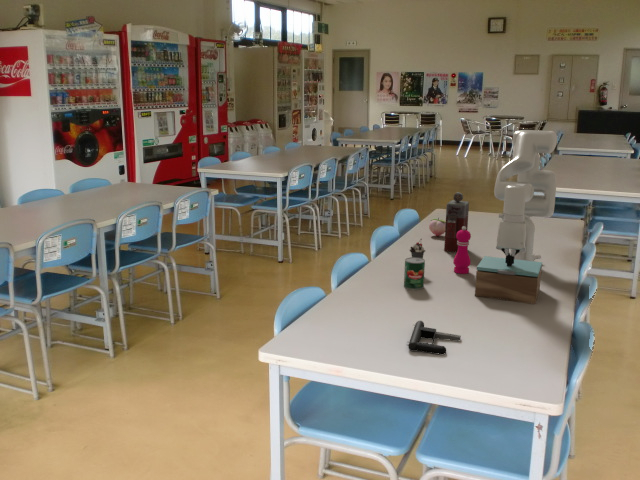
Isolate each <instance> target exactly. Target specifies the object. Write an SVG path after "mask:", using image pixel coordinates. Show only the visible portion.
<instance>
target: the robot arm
mask: <svg viewBox="0 0 640 480" xmlns="http://www.w3.org/2000/svg"><path fill="white" fill-rule="evenodd" d="M512 142H513V146H514V150H513V154H512V160H511V161H509V162H507V163H506V164H505V165H503V166H502V167H501V169H500V170H499V171H498V173H497V176H496V180H495V184H494V187H493V188H494V189H493V193H494V197H495V198H496V199H497V200H498V201H503V208H502V209H503V210H502V211H503V212H502V213H499V214H498V218H500V219H501V220H500V221H499V225H498V230H497V238H496V246H495V249H496V250H498V251H502V253H503V254H504V255H505V258H506V261H505V263H507V266H512V264H514V259H516V260H526V261H536V260H541V259H542V255H540V254H534V243H535V233H536V226H535V223H534V222H533V220H532V219H531V218H533V217H534V218H543V219H545V218H547V219H548V218H551V217H552V216H553V215H554V212H555V205H556V193H557V192H556V191H557V175H556V173H555V171H553V170H548V169H540V162H541V161H540V155H539V154H552V153H553V152H554V151H555V149H556V146H557V144H558V136H557V133H556V132H555V131H554V130H538V129H537V130H536V129H522V130H521V129H519V130H517V131H516V130H515V132H514V133H513V135H512ZM514 176H517V178H516V180H517V181H516V180H515V181H513V180H507V179H509V178H511V177H514ZM534 193H542V194H544V195H540V194H534Z"/></svg>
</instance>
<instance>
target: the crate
mask: <svg viewBox="0 0 640 480" xmlns="http://www.w3.org/2000/svg"><path fill="white" fill-rule="evenodd" d="M542 269H543V266H542V267H541V269H540V272H539V275H538V277H533V276H525V275H516V274H515V275H509V274H500V273H498V272H490V271H482V270H477V269H476V271H475V272H476V275H475V288H474V289H475V290H474V297H480V298H487V299H494V300H501V301H508V302H509V301H510V302H519V303H525V304H534V305H536V302H537V300H538V296H539V293H540V290H541V282H542V281H541V280H542Z"/></svg>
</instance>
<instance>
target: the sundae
mask: <svg viewBox="0 0 640 480" xmlns="http://www.w3.org/2000/svg"><path fill="white" fill-rule="evenodd" d="M422 240H423V239H422V238H420V240H419V241H417V242H416V243H415V244H413V246H410V249H409V252H410V253H411V257H417V258H422V259H424V254H425V252H426V249H425V248H424V246H423V244H422V243H421V241H422Z"/></svg>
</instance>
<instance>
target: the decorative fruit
mask: <svg viewBox="0 0 640 480" xmlns="http://www.w3.org/2000/svg"><path fill="white" fill-rule="evenodd" d="M428 226H429V227H428V228H429V231H430V232H431V233H432V234H434V235H435V236H437V237H439V236H442V235H445V226H446V220H445V219H440V217H438V218H432V219H431V220H430V223H429V225H428Z"/></svg>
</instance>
